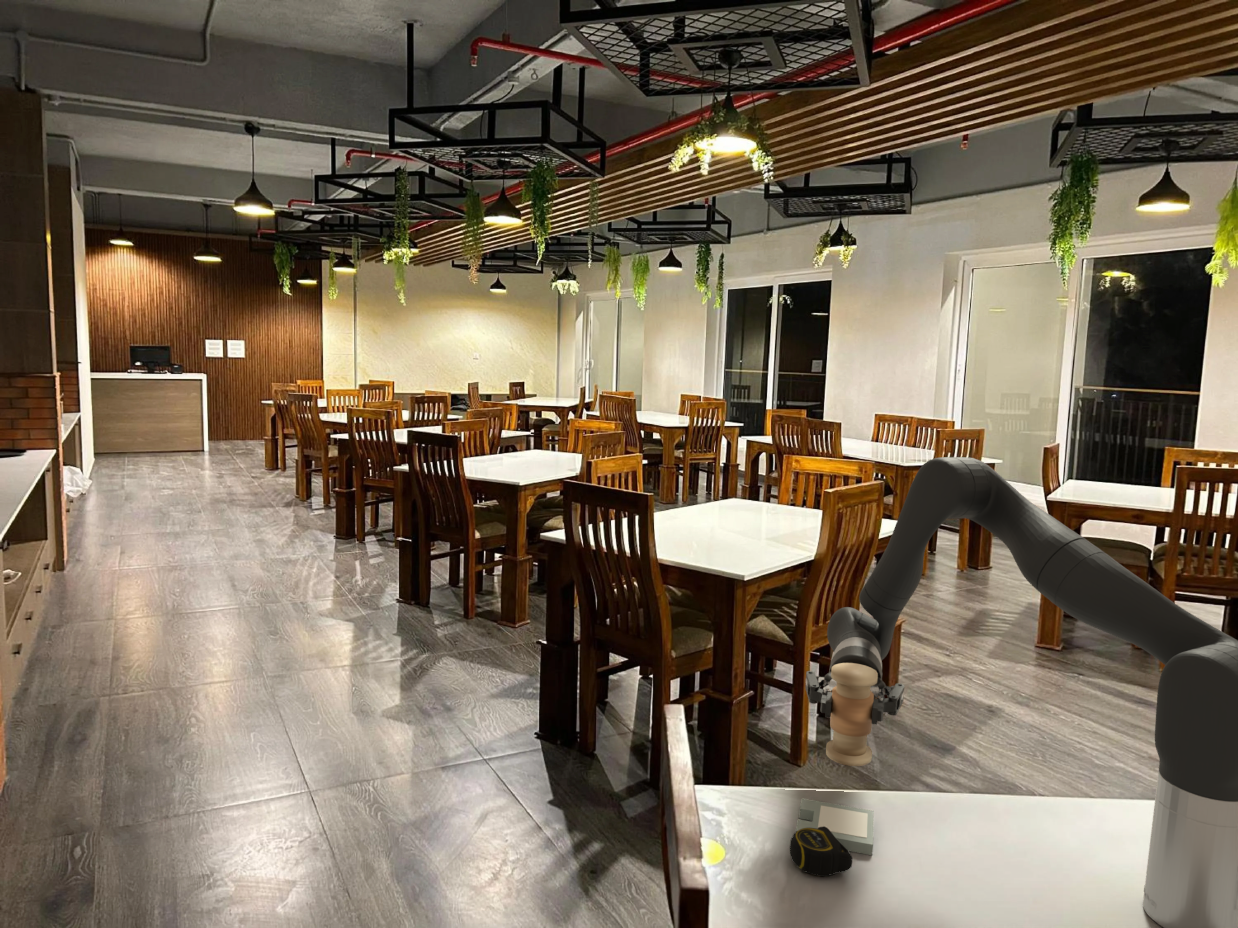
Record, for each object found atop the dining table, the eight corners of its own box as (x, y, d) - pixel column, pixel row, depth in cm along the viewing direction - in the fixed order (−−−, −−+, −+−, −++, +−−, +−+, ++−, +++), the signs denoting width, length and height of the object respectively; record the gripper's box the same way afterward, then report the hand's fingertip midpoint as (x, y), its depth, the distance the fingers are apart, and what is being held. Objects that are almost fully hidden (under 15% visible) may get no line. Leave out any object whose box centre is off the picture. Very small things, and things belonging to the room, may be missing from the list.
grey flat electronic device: (872, 820, 123) (873, 809, 122) (872, 855, 114) (873, 843, 114) (801, 807, 126) (801, 797, 125) (795, 840, 117) (795, 829, 117)
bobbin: (871, 749, 120) (878, 666, 118) (871, 769, 115) (877, 682, 113) (827, 742, 122) (832, 660, 120) (824, 761, 116) (830, 676, 115)
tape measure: (853, 878, 109) (855, 851, 109) (802, 884, 108) (804, 856, 107) (828, 848, 116) (830, 822, 115) (780, 853, 114) (782, 826, 114)
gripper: (808, 638, 132) (797, 679, 116) (908, 651, 128) (910, 694, 112) (805, 685, 133) (794, 732, 117) (904, 699, 129) (906, 749, 113)
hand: (851, 713), depth 115 cm, fingers closed on bobbin, 5 cm apart
